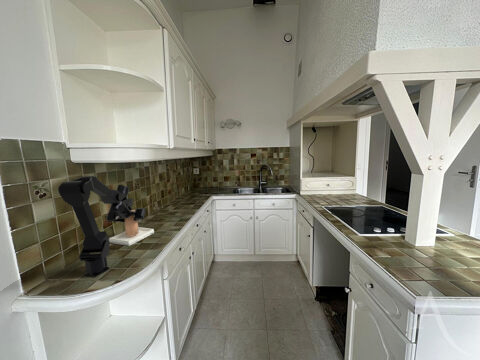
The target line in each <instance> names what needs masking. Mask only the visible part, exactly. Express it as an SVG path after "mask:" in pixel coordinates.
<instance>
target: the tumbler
mask: <svg viewBox="0 0 480 360" xmlns="http://www.w3.org/2000/svg"><path fill="white" fill-rule="evenodd" d="M135 210H136V209H132V210H131V211H135ZM124 220H125V223H124V227H125V231H126V235H127V236H132V235H136V234H138V233H139V231H138V227H139V222H136V221H134V216H130V217H129V218H124Z"/></svg>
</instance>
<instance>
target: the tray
mask: <svg viewBox="0 0 480 360" xmlns="http://www.w3.org/2000/svg"><path fill="white" fill-rule="evenodd" d="M138 231H139V233H138V234H136V235H132V236H127V235H126V230H125V231H123V232H121V233H119V234H116V235H114V236H111V237H108V238H109V239H108V240H109V242H110V244H115V245H121V246H127V247H128V246H131V245H134V244H136V243H138V242H139V241H141V240H143V239H145V238H147V237H149V236H151V235H153V234H155V230H154V228H148V227H142V226H141V227H139V226H138Z"/></svg>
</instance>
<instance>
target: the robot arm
mask: <svg viewBox="0 0 480 360" xmlns="http://www.w3.org/2000/svg"><path fill="white" fill-rule="evenodd" d="M57 190H58V194H59V195H60V197H61V199H62V200H63V201H64V202H65V203H66V204H68V205H70V207H72V210H73V211H74V215H75V217H76V219H77V221H78V223H79V226H80V229H81V231H82V234H83V236H84V238H83V241H82V249H81V251H80V253H79V257H78V258H79V261H81V262H82V261H84V265H85V272H84V273H83V275H84V276H88V277H92V278H96V277H98V276H99V275H101V274H104V273H105V272H106V271H108V270H109V269H111V268H110V267H109V266H108V265H109V264H108V258H107V256H108V255H109V254H110V244H111V243H110V242H109V238H110V237H109V236H108V233H107V231H105V230H104V231H103V230H102V231H100V228H99V226H98V223H97V221H96V219H95V216H94V214H93V209H92V208H91V206H90V202H89V199H90V196H91V192H93V193H94V194H96V195H98V196H99V197H100V201H101V202H103V204H105V205H110V208H109V210H108V212H107V215H106V221H108V222H110V223H111V222H114V223H124V224H125V220H124V218H129V217H130V216H134V221H136V222H138V223H139V222H140V221H142V220H144V219H145V215H146V209H145V208H144V207H141V208H140V207H138V208H136V209H134V210H135V211H131V210H133V205H134V200H133V198H128V196H129V192H130V188H129V187H128V186H126V185H123V184H118V185H117V189H111V188H109V187H108V186H106V184H104V183H102V182H101V180H100V179H98V177H97V176H94V175H86V176H84V175H83V176H81V177H78V178H75V179H72V180H68V181H63V182H61V183H60V185H58V189H57Z"/></svg>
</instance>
